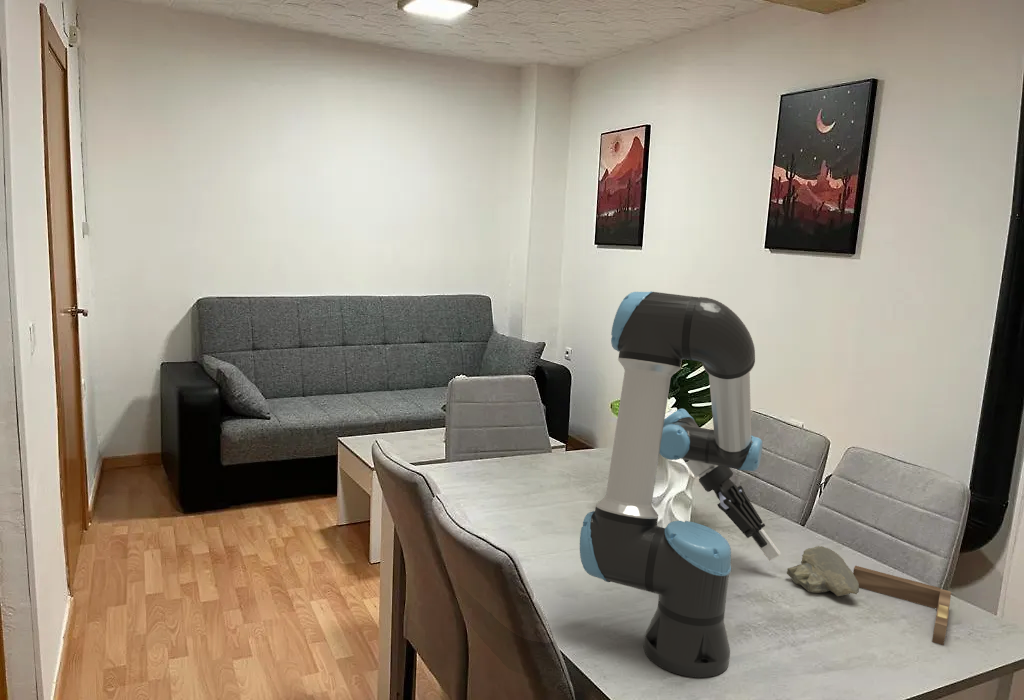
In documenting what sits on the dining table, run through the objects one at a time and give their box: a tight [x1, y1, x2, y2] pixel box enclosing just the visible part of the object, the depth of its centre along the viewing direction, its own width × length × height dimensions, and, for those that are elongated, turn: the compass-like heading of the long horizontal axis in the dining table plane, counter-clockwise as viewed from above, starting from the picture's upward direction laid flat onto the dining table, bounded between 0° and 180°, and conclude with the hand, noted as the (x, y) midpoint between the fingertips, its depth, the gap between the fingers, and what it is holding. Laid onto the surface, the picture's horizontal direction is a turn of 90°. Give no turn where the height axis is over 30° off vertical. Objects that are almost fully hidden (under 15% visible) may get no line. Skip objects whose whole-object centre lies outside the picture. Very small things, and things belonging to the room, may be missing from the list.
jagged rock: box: [786, 545, 860, 597], centre depth 168 cm, size 14×10×10 cm
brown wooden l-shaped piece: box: [852, 565, 952, 646], centre depth 161 cm, size 18×19×4 cm
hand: (775, 556), depth 173 cm, fingers closed
